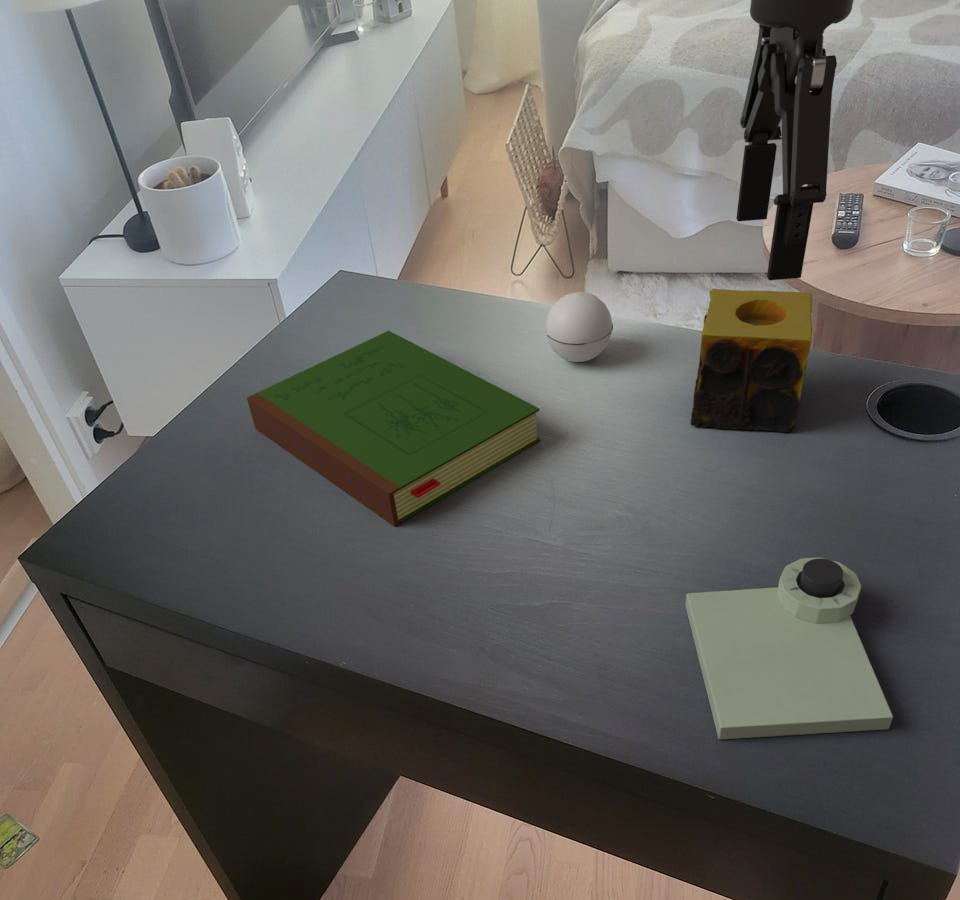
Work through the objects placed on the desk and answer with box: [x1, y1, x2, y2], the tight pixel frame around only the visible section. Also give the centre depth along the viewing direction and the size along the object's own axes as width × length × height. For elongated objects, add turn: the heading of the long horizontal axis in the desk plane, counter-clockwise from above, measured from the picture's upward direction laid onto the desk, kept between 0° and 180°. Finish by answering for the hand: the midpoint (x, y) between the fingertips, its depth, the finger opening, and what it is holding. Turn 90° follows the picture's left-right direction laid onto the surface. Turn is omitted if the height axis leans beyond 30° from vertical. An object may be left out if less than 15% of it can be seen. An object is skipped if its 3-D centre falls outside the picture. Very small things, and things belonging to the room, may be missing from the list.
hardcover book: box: [246, 330, 541, 527], centre depth 97 cm, size 25×19×4 cm
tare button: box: [799, 557, 843, 598], centre depth 74 cm, size 3×3×2 cm
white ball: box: [544, 291, 632, 363], centre depth 103 cm, size 10×7×7 cm
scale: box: [684, 557, 894, 740], centre depth 72 cm, size 13×15×3 cm
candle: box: [690, 288, 814, 433], centre depth 94 cm, size 10×10×10 cm
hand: (766, 246), depth 86 cm, fingers open, 12 cm apart
